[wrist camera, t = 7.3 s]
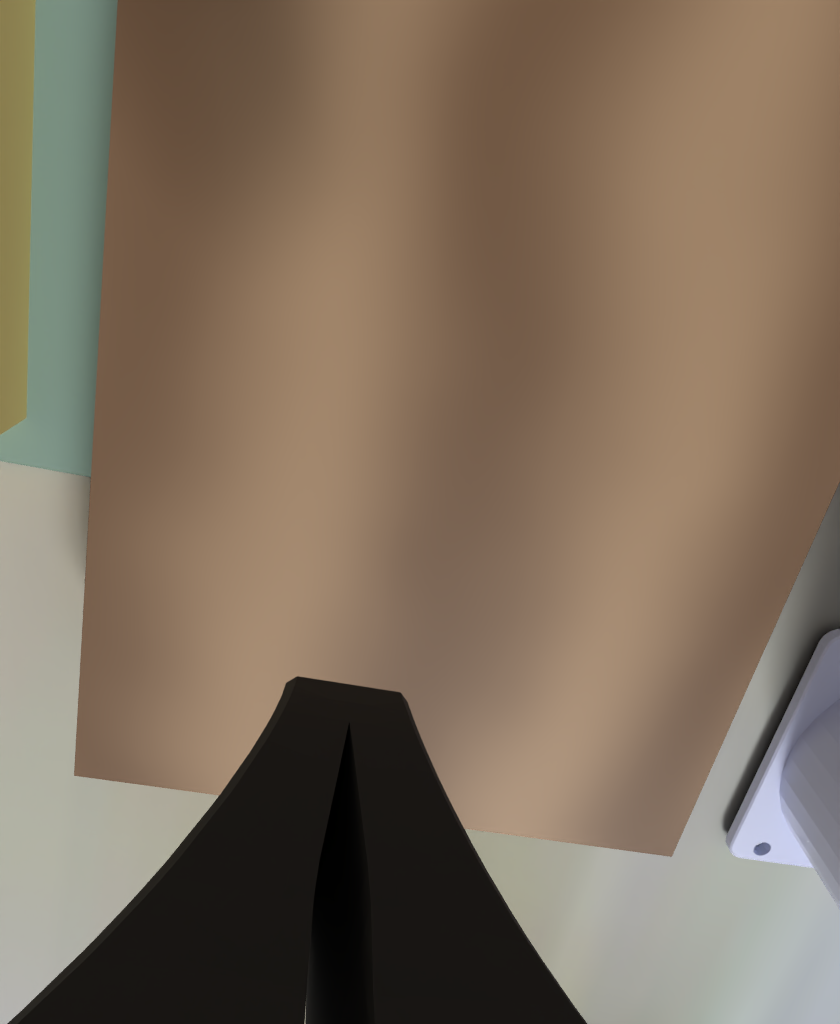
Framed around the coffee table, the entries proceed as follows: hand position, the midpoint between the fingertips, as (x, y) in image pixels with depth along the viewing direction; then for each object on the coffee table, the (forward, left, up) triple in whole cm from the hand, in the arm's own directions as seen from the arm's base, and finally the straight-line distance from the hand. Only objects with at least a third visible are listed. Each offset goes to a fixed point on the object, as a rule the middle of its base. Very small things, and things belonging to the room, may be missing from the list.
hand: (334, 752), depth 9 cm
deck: (-2, -3, -10) cm, 11 cm away
